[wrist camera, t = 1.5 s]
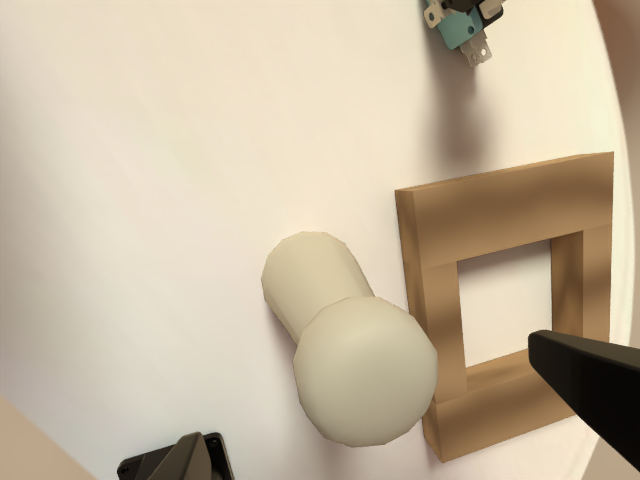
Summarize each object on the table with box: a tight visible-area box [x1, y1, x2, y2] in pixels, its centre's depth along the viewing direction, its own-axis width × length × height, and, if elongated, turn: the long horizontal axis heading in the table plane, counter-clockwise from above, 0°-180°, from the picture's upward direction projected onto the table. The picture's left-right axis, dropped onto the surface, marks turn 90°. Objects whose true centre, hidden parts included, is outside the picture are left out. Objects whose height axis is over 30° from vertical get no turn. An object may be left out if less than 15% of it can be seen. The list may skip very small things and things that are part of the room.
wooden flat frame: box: [395, 152, 614, 463], centre depth 23 cm, size 20×15×2 cm
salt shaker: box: [261, 232, 439, 447], centre depth 15 cm, size 6×6×13 cm
